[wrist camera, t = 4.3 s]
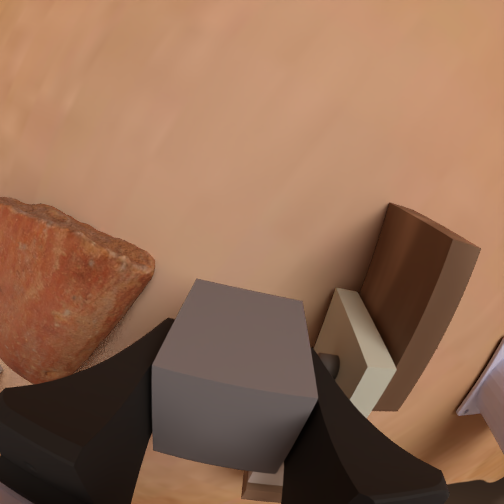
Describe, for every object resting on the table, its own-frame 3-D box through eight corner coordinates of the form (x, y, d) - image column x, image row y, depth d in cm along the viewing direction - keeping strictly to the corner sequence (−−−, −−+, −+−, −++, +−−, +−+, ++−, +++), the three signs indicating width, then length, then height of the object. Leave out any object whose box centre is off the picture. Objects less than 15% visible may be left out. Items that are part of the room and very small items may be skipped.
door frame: (412, 209, 14) (480, 248, 8) (295, 465, 21) (296, 523, 16) (334, 187, 14) (376, 216, 8) (244, 459, 21) (239, 519, 16)
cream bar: (357, 291, 15) (396, 369, 9) (301, 418, 19) (307, 494, 13) (321, 284, 15) (346, 364, 9) (273, 414, 19) (272, 492, 13)
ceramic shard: (-40, 93, 8) (158, 292, 13) (19, 99, 14) (172, 244, 19) (-97, 283, 10) (43, 422, 15) (-52, 252, 16) (67, 367, 21)
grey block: (302, 300, 11) (317, 398, 7) (276, 378, 13) (275, 474, 8) (196, 278, 11) (152, 364, 7) (186, 359, 13) (153, 450, 8)
